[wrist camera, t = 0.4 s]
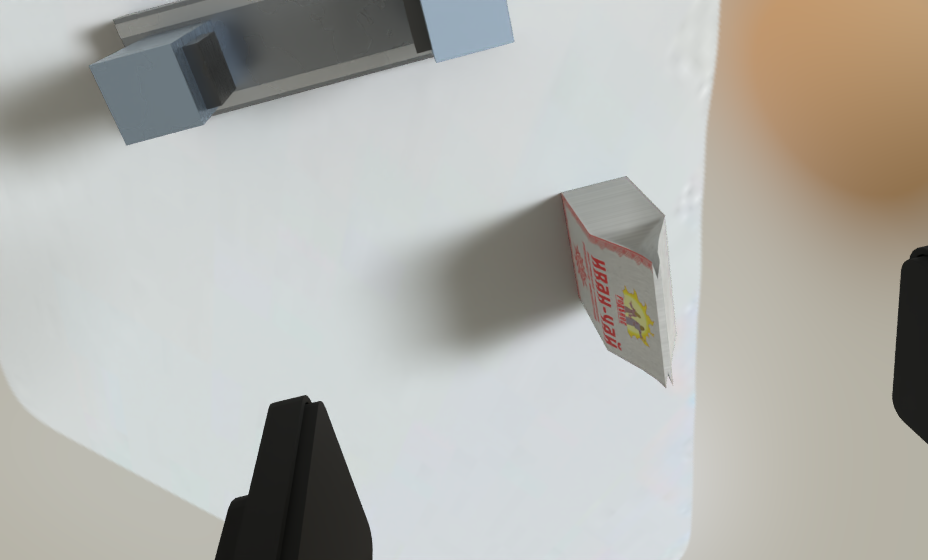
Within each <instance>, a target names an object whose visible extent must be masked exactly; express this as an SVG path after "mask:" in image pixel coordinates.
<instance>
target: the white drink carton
mask: <svg viewBox="0 0 928 560" xmlns="http://www.w3.org/2000/svg"><path fill="white" fill-rule="evenodd" d="M561 194H562V200H563V206H564V212H565V218H566V224H567V230H568V235H569V241H570V247H571V253H572V259H573V265H574V271H575V277H576V282H577V288H578V294H579V298H580V300H581V302H582V304H583V305H584V307H585V309H586V311H587V313H588V315H589V317H590V318H591V320H592V322H593V324H594V326H595V328H596V330H597V331H598V333H599V335H600V337H601V339H602V341H603V342H604V344H605V346H606V348H607V350H608V351H610V352H612V353H613V354H615V355H617V356H619V357H621V358H622V359H624V360H626V361H628V362H630V363H631V364H633V365H635V366H637V367H638V368H640V369H642V370H644V371H645V372H646V373H648V374H649V375H651V376H652V377H654V378H655V379H657V380H658V381H659V382H660V383H661V384H662V385H663V386H664V387H665V388H666V384H667V376H669V378H670V380H671V382H672V385H673V378H672V369H671V365H672V357H673V352H674V346H675V340H676V334H677V331H676V321H675V311H674V301H673V291H672V281H671V271H670V261H669V251H668V241H667V231H666V221H665V215H664V214H663V213H662V212H661V211H660V210H659V209H658V208H657V207H656V206H655V205H654V204H653V203H652V202H651V201H650V200H649V199H648V198H647V197H646V196H645V195H644V194H643V193H642V191H641V190H640V189H639V188H638V187H637V186H636V185H635V184H634V183H633V182H632V181H631V180H630V179H629V178H628V177H627V176H625V177H621V178H617V179H613V180H609V181H605V182H601V183H597V184H593V185H589V186H585V187H581V188H577V189H573V190H569V191H565V192H561Z"/></svg>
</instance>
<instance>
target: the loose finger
mask: <svg viewBox="0 0 928 560" xmlns="http://www.w3.org/2000/svg"><path fill="white" fill-rule="evenodd" d="M402 1H403V5H404V8H405V12H406V16H407V20H408V24H409V28H410V31H411V35H412V39H413V43H414V46H415V49H416V52H417V54H418V53H422V52H425V51H429V50H431V52H432V54H433V56H434V59H435V61H436V63H438V62H442V61H446V60H449V59H453V58H457V57H461V56H464V55H468V54H472V53H475V52H479V51H483V50H487V49H490V48H494V47H498V46H502V45H505V44H509V43H513V42H514V37H513V32H512V27H511V22H510V17H509V12H508V7H507V2H506V0H402Z"/></svg>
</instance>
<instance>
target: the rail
mask: <svg viewBox="0 0 928 560" xmlns="http://www.w3.org/2000/svg"><path fill="white" fill-rule="evenodd" d="M506 2H507V1H506ZM507 7H508V6H507ZM508 12H509V11H508ZM113 21H114V24H115V27H116V29H117V31H118V34H119V36H120V38H121V39H122V42H123V44H124V46H125V48H123V49H121V50H119V51H117V52H115V53H113V54H111V55H109V56H107V57H105V58H103V59H101V60H99V61H97V62H95V63H93V64H91V65H89V67H90V69H91V72H92V74H93V76H94V78H95V80H96V82H97V84H98V86H99V88H100V91H101V93H102V95H103V97H104V99H105V101H106V103H107V105H108V108H109V110H110V112H111V114H112V116H113V118H114V120H115V122H116V124H117V127H118V129H119V131H120V133H121V135H122V137H123V139H124V141H125V143H126V145H130V144H134V143H137V142H141V141H145V140H149V139H152V138H156V137H160V136H164V135H167V134H171V133H175V132H179V131H182V130H186V129H190V128H193V127H197V126H201V125H204V124H205V123H206V121H207V120H208V119H209V118H210V117H211V116H214V115H218V114H222V113H225V112H229V111H233V110H236V109H240V108H244V107H248V106H251V105H255V104H259V103H263V102H266V101H270V100H274V99H278V98H281V97H285V96H289V95H292V94H296V93H300V92H304V91H307V90H311V89H315V88H319V87H322V86H326V85H330V84H334V83H337V82H341V81H345V80H348V79H352V78H356V77H360V76H363V75H367V74H371V73H375V72H378V71H382V70H386V69H390V68H393V67H397V66H401V65H404V64H408V63H412V62H416V61H419V60H423V59H427V58H431V57H434V56H433V54H432V52H431V50H429V51H425V52H422V53H418V54H417V52H416V49H415V46H414V43H413V39H412V35H411V31H410V28H409V24H408V20H407V16H406V12H405V8H404V5H403V1H402V0H180V1H176V2H172V3H169V4H165V5H161V6H158V7H154V8H150V9H146V10H143V11H139V12H135V13H132V14H128V15H125V16H122V17H120V18H117V19H114V20H113ZM510 22H511V21H510ZM511 27H512V26H511Z"/></svg>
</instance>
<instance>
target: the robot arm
mask: <svg viewBox="0 0 928 560" xmlns="http://www.w3.org/2000/svg"><path fill="white" fill-rule="evenodd" d="M897 323H898V325H897V337H896V351H895V365H894V380H893V394H892V399H893V404H894V408H895V410H896V412H897V414H898V415H899V417H900V418H901V419H902V420H903V421H904V422H905V423H906V424H907V425H908V426H909V427H910V428H911V429H912V430H913V431H914V432H915V433H916V434H918V435H919V436H920V437H921V438H922V439H923V440H924V441H925V442H926V443H927V444H928V246H924V247H920V248H917V249H915V250H914V251H913V252H912V254H911V255H910V259H909V260H907V261H905V262H904V263H903V265H902V269H901V280H900V294H899V308H898V322H897ZM372 551H373V548H372V537H371V532H370V527H369V524H368V521H367V518H366V516H365V513H364V510H363V508H362V505H361V502H360V499H359V497H358V494H357V491H356V489H355V486H354V483H353V481H352V478H351V475H350V473H349V470H348V467H347V464H346V462H345V459H344V456H343V454H342V451H341V448H340V446H339V443H338V440H337V438H336V435H335V432H334V429H333V427H332V424H331V421H330V419H329V416H328V413H327V411H326V408H325V406H324V404H323V402H321V401H318V402H314V403H312V402H311V400H310V399H309V397H308V396H306V395H304V396H300V397H296V398H291V399H287V400H283V401H279V402H275V403H272V404H270V406H269V409H268V413H267V418H266V422H265V426H264V430H263V435H262V439H261V443H260V447H259V452H258V456H257V460H256V464H255V469H254V473H253V477H252V481H251V486H250V490H249V494H248V495H246V496H242V497H238V498H235V499H234V500H233V501H232V502H231V504H230V506H229V509H228V512H227V515H226V519H225V523H224V527H223V531H222V534H221V538H220V542H219V546H218V549H217V554H216V557H215V560H372Z"/></svg>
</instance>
